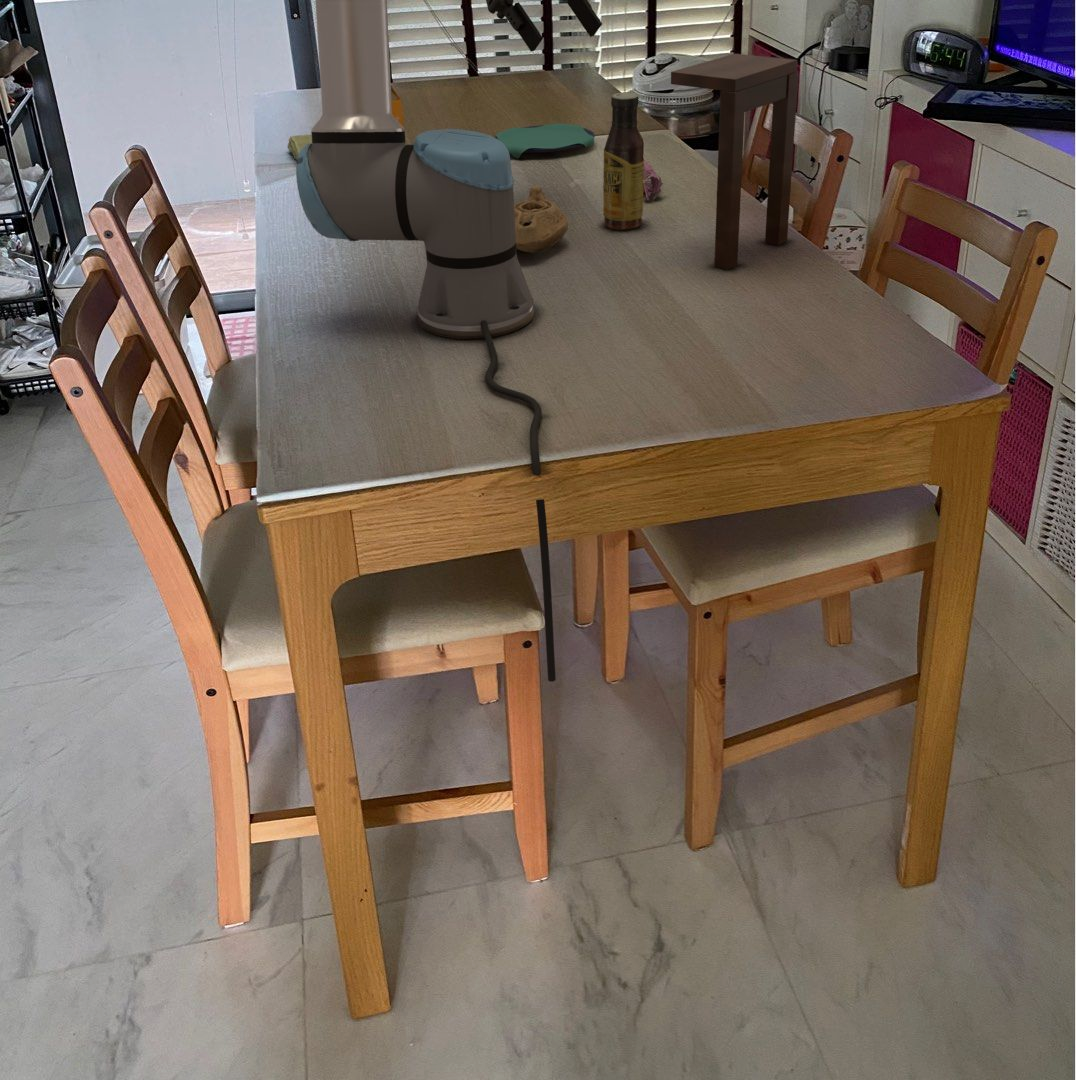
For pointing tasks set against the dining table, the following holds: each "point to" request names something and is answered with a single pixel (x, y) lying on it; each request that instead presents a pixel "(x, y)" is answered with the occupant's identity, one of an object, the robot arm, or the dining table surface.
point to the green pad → (545, 138)
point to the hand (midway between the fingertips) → (567, 37)
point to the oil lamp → (538, 222)
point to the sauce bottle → (623, 166)
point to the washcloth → (298, 143)
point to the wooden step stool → (742, 90)
